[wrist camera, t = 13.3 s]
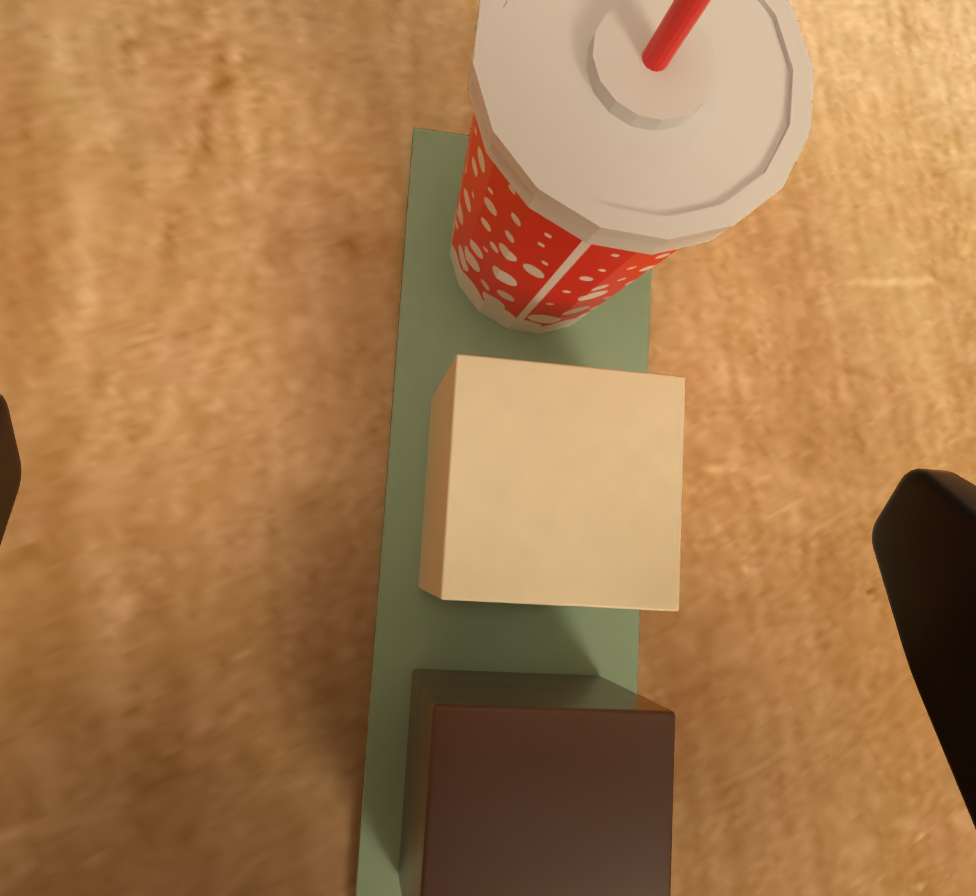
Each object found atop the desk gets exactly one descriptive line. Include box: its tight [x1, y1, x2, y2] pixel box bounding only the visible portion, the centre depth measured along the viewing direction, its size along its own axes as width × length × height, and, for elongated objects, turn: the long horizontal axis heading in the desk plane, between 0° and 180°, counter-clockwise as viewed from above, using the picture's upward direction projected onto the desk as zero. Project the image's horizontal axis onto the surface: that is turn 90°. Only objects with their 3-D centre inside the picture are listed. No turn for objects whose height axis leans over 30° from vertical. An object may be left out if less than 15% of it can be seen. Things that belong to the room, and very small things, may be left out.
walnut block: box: [398, 669, 675, 896], centre depth 18 cm, size 5×5×5 cm
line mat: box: [355, 128, 651, 896], centre depth 22 cm, size 22×7×1 cm, turn 177°
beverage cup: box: [450, 0, 814, 334], centre depth 16 cm, size 6×6×14 cm
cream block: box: [418, 354, 685, 612], centre depth 19 cm, size 5×5×5 cm
